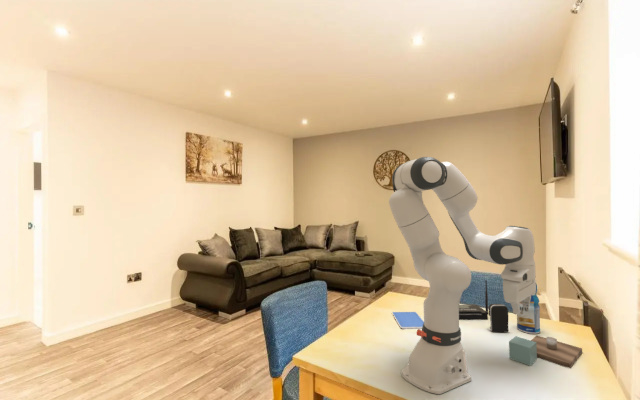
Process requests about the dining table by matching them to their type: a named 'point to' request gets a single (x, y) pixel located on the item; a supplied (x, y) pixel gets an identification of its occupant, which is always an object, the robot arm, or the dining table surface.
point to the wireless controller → (474, 310)
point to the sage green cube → (523, 350)
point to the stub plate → (556, 351)
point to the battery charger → (498, 317)
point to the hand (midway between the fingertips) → (521, 310)
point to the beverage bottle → (529, 316)
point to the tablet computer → (408, 320)
